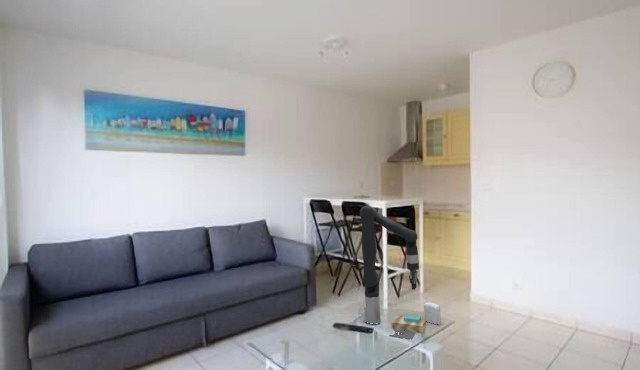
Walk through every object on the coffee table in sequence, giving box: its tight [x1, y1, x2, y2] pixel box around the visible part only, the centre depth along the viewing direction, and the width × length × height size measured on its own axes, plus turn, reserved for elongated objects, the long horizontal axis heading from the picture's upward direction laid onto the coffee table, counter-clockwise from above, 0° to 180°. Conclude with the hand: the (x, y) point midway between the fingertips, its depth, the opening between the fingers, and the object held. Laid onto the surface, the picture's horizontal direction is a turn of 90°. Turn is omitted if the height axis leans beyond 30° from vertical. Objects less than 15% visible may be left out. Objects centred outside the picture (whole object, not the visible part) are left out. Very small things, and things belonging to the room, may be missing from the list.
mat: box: [388, 329, 417, 341], centre depth 207 cm, size 13×10×1 cm
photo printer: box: [423, 301, 442, 325], centre depth 222 cm, size 10×4×12 cm, turn 39°
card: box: [404, 314, 422, 323], centre depth 217 cm, size 9×6×2 cm, turn 62°
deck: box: [391, 314, 427, 334], centre depth 217 cm, size 18×12×4 cm, turn 62°
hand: (414, 288), depth 225 cm, fingers open, 3 cm apart
